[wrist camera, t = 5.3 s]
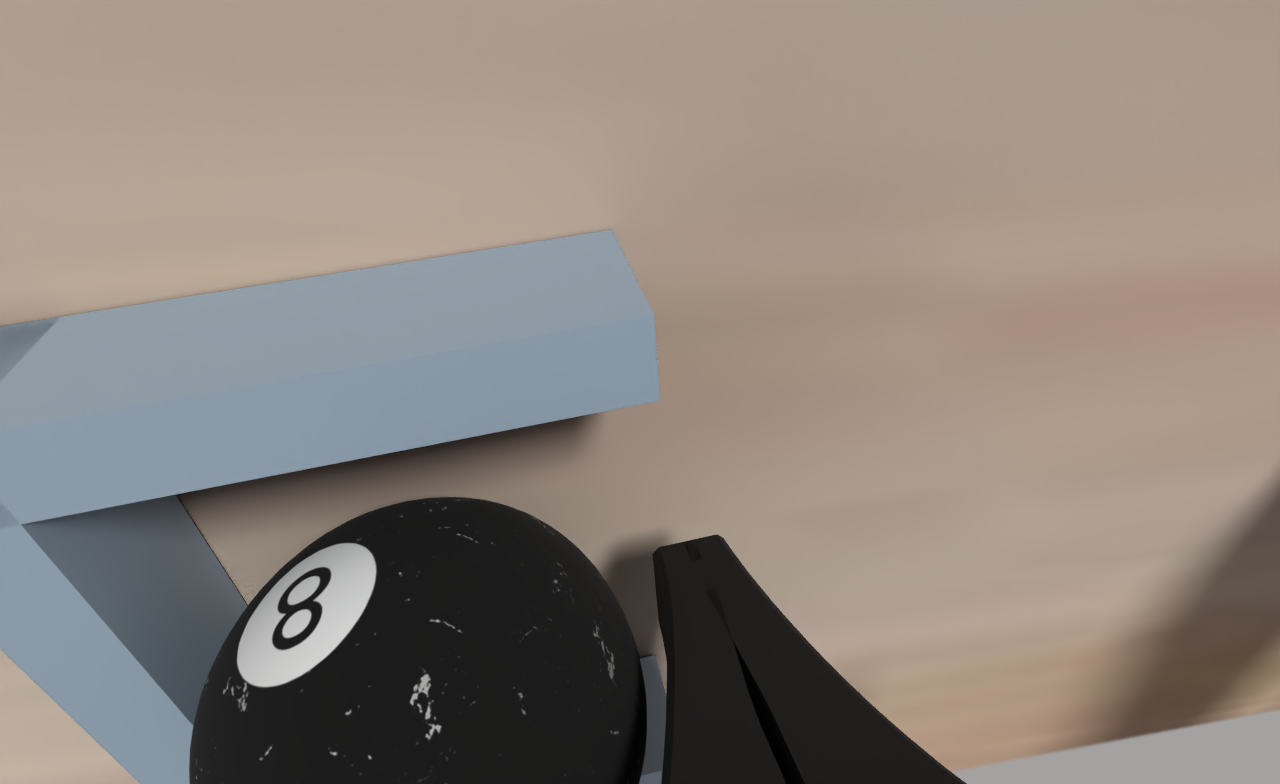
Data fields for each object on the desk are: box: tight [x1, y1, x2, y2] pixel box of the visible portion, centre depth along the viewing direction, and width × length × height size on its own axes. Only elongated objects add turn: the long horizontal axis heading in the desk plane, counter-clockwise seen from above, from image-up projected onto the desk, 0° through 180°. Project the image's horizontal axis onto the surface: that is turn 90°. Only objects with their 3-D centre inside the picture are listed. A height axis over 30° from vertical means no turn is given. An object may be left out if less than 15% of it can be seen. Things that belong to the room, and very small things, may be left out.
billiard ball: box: [189, 497, 647, 784], centre depth 10 cm, size 6×6×6 cm
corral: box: [0, 230, 666, 784], centre depth 12 cm, size 8×11×2 cm
